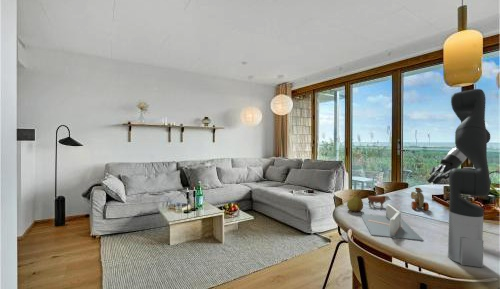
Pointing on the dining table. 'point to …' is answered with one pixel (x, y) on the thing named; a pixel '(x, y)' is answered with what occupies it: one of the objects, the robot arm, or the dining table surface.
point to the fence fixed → (395, 223)
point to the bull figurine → (378, 200)
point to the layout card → (388, 228)
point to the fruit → (355, 203)
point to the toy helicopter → (418, 200)
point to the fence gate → (390, 211)
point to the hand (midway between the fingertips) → (431, 182)
